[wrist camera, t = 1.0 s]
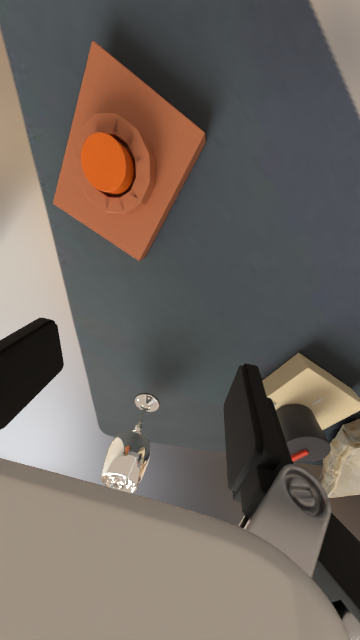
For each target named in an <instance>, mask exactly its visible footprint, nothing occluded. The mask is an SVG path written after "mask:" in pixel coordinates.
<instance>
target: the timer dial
mask: <svg viewBox="0 0 360 640" xmlns="http://www.w3.org/2000/svg"><path fill="white" fill-rule="evenodd" d="M276 412H277V415H278V419H279V422H280V425H281V428H282V431H283V434H284V437H285V440H286V443H287V446H288V449H289V452H290V455H291V458H292V461H295V460H296V461H301V462H312V461H317V460H321V459H323V458H325V457H326V456H327V455H328V454H329V453H330V451H331V447H330V445H329V443H328V441H327V439H326V437H325V435H324V433H323V431H322V429H321V427H320V425H319V423H318V421H317V420H316V418H315V416H314V414H313V412H312V410H311V409H310V408H308V407H307V406H304V405H301V404H288V405H284V406H282V407H280V408H279V409H277V410H276Z"/></svg>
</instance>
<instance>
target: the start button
mask: <svg viewBox="0 0 360 640" xmlns="http://www.w3.org/2000/svg"><path fill="white" fill-rule="evenodd" d="M81 164H82V169H83V172H84V174H85V176H86V178H87V179H88V181H89V182H90V183H91V184H92V185H93V186H94V187H95V188H96V189H98V190H100V191H103V192H107V193H111V194H121V193H123V192H125V191H126V190H127V189H128V188H129V187H130V185H131V183H132V181H133V177H134V165H133V161H132V158H131V155H130V154H129V152H128V150H127V149H126V148H125V147H124V146H123V145H122V144H121V143H120V142H118V141H117V140H116V139H115V138H113V137H112V136H111V135H109V134H107V133H103V132H97V133H94V134H92V135H90V136H89V137H88V138H87V139H86V140H85V142H84V144H83V147H82V150H81Z"/></svg>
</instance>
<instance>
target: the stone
mask: <svg viewBox="0 0 360 640" xmlns="http://www.w3.org/2000/svg"><path fill="white" fill-rule="evenodd" d="M330 447H331V451H330V453H329V454H328V455H327V456H326V457H325V458H323V469H322V474H321V476H320V477H319V479H318V481H319V482H320V484H321V485H322V487H323V488H324V489H325V492H326V494H327V496H328V498H332V497H342V496H349V495H359V494H360V419H357V420H356V421H352V422H350V423H347V424H343V425H342V427H341V428H340V431H339V432H338V434H337V436H336V438H334V439H333V440H332V442H331V443H330Z"/></svg>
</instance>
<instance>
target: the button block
mask: <svg viewBox="0 0 360 640" xmlns="http://www.w3.org/2000/svg"><path fill="white" fill-rule="evenodd" d="M97 132H103V133H107V134H109V135H111V136H112V137H113V138H115V139H116V140H117V141H118V142H120V143H121V144H122V145H123V146H124V147H125V148H126V149H127V150H128V152H129V154H130V155H131V158H132V161H133V165H134V177H133V181H132V183H131V185H130V187H129V188H128V189H127V190H126V191H125V192H123V193H121V194H111V193H107V192H103V191H100V190H98V189H96V188H95V187H94V186H93V185H92V184H91V183H90V182H89V181H88V179H87V178H86V176H85V174H84V172H83V169H82V164H81V150H82V147H83V144H84V142H85V140H86V139H87V138H88V137H89V136H90V135H92V134H94V133H97ZM205 143H206V138H205V132H204V131H202V130H201V129H200V128H199V127H197V126H196V125H195V124H194V123H193V122H191V121H190V120H189V119H188V118H187V117H185V116H184V115H183V114H182V113H181V112H179V111H178V110H177V109H176V108H174V107H173V106H172V105H171V104H170V103H168V102H167V101H166V100H165V99H164V98H162V97H161V96H160V95H159V94H157V93H156V92H155V91H154V90H153V89H151V88H150V87H149V86H148V85H147V84H145V83H144V82H143V81H142V80H141V79H139V78H138V77H137V76H136V75H134V74H133V73H132V72H131V71H130V70H128V69H127V68H126V67H125V66H124V65H122V64H121V63H120V62H119V61H117V60H116V59H115V58H114V57H113V56H111V55H110V54H109V53H108V52H107V51H105V50H104V49H103V48H102V47H101V46H99V45H98V44H97V43H96V42H94V41H92V44H91V48H90V52H89V57H88V61H87V65H86V69H85V73H84V77H83V81H82V85H81V90H80V94H79V98H78V102H77V106H76V110H75V114H74V119H73V123H72V127H71V131H70V135H69V139H68V143H67V147H66V152H65V156H64V160H63V164H62V168H61V172H60V176H59V181H58V185H57V189H56V193H55V197H54V201H53V204H55V205H56V206H58V207H59V208H61V209H62V210H64V211H65V212H67V213H68V214H70V215H71V216H73V217H74V218H76V219H77V220H79V221H80V222H82V223H83V224H85V225H86V226H88V227H89V228H91V229H92V230H94V231H95V232H97V233H98V234H100V235H101V236H103V237H104V238H106V239H107V240H108V241H110V242H111V243H113V244H114V245H116V246H117V247H119V248H120V249H122V250H123V251H125V252H126V253H128V254H129V255H131V256H132V257H134V258H135V259H137V260H138V261H140V260H141V259H143V258H145V257H146V255H147V253H148V251H149V249H150V247H151V245H152V243H153V241H154V240H155V238H156V236H157V234H158V232H159V230H160V228H161V226H162V224H163V223H164V221H165V219H166V217H167V215H168V213H169V211H170V209H171V207H172V205H173V204H174V202H175V200H176V198H177V196H178V194H179V192H180V190H181V188H182V187H183V185H184V183H185V181H186V179H187V177H188V175H189V173H190V171H191V170H192V168H193V166H194V164H195V162H196V160H197V158H198V156H199V154H200V153H201V151H202V149H203V147H204V145H205Z"/></svg>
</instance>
